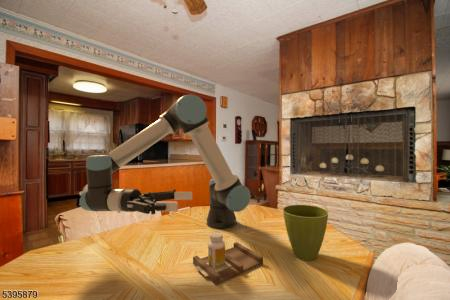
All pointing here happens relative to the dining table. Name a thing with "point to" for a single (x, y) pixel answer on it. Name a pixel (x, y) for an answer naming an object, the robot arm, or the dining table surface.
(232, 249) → the slot board
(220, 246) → the supplement bottle
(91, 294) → the dining table surface
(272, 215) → the dining table surface
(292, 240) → the flower pot
